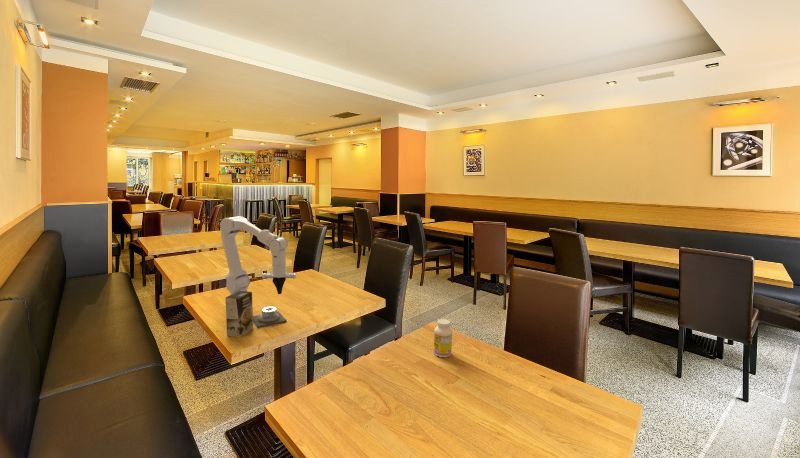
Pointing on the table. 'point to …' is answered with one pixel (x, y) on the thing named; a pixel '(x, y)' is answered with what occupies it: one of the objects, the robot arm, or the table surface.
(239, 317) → the coffee box
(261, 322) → the hub
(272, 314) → the grey metal ring
